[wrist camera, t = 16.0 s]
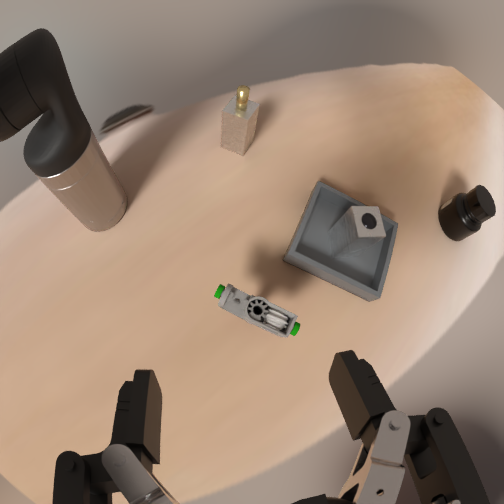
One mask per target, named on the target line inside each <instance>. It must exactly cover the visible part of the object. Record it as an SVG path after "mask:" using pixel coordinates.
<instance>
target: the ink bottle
mask: <svg viewBox="0 0 504 504" xmlns="http://www.w3.org/2000/svg"><path fill="white" fill-rule="evenodd" d="M495 212H496V209H495V204H494V200H493V198H492V196H491V194H490V193H489V192H488V190H487V189H486V188H485V187H484V186H481V185H478V186H476V187H475V188H474V189H472V190H471V191H470V192H469V193H467V194H466V193H459V194H457V195H456V196H454V197H453V198H452V199H450V200H449V201H447V202H446V203H445V204H443V205H442V206H441V207H440V210H439V220H440V224H441V227H442V229H443V231H444V233H445V234H446V235H447V236H448V237H449V238H450V239H452V240H454V241H461V240H463V239H465V238H466V237H468V236H470V235H472V234H474V233H476V232H477V231H478V230H479V229H480V228H481V224H482V223H483V222H484V221H486V220H488V219H489V218H491V217H493V216H494V215H495Z"/></svg>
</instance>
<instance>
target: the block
mask: <svg viewBox="0 0 504 504" xmlns="http://www.w3.org/2000/svg"><path fill="white" fill-rule="evenodd" d="M328 235H329V240H330V246H331V251H332V257H333V258H340V257H354V256H358V255H359V254H361V253H362V252H364V251H365V250H367V249H368V248H370V247H371V246H373V245H374V244H375V243H377V242H378V241H380V240H381V239H383V238H384V237H385V236H386V234H385V230H384V226H383V222H382V218H381V214H380V210H379V207H378V206H351V207H350V208H349V209H348V211H347V212H346V213H345V214H344V215H343V216H342V217H341V218H340V219H339V220H338V221H337V222H336V224H335V225H334V226H333V227H332V228H331V229H330V230H329V231H328Z"/></svg>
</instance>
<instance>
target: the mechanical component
mask: <svg viewBox="0 0 504 504" xmlns="http://www.w3.org/2000/svg"><path fill="white" fill-rule="evenodd" d="M224 289H225V286H223V285H221V284H220V285H219V287H218V289H217V291H216V293H215V295H214V297H216V298H218V299H219V298H220V297H221V298H220V300H219V303H218V306H219V307H221V308H222V309H224V310H226V311H228V312H230V313H232V314H234V315H236V316H238V317H240V318H242V319H244V320H245V321H246V322H248V323H250V324H254V325H256V326H258V327H260V328H262V329H264V330H266V331H268V332H270V333H272V334H275V335H277V336H280V337H288V336H289V334H291V335H293V336H295V335H296V334H297V332H298V330H299V328H300V323H297V322H295V321H296V319H297V317H298V316H297V315H295V314H293V313H291V312H289V311H287V310H285V309H283V308H281V307H279V306H277V305H275V304H272V303H270V302H269V301H268V300H267V299H265V298H263V297H255V296H253V295H251V296H250V295H248V294H246V293H244V292H242V291H240V290H238V289H236V288H234V287H233V285H231V284H228V285H227V287H226V289H225V290H224Z"/></svg>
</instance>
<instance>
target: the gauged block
mask: <svg viewBox="0 0 504 504" xmlns="http://www.w3.org/2000/svg"><path fill="white" fill-rule="evenodd" d="M249 90H250V89H249V87H247V86H244V85H242V86H239V87H238V88H237V96H234V97H233V98H232V100H231V101H230V102H229V103H228V104H227V105H226V107H225V108H224V109H223V110H222V125H221V147H222V148H224V149H227V150H229V151H232V152H234V153H237V154H239V155H241V156H243V155H244V154H245V152H246V151H247V149H248V148H249V146H250V144H251V143H252V141H253V139H254V134H255V128H256V123H257V117H258V112H259V106H260V104H258V103H255V102H253V101H250V100H248V97H249Z"/></svg>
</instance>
